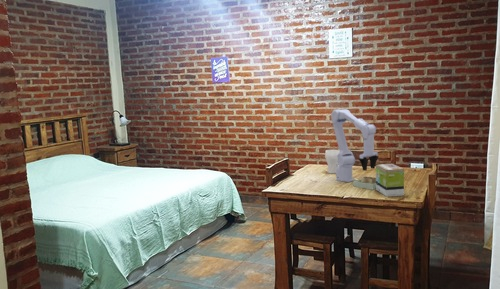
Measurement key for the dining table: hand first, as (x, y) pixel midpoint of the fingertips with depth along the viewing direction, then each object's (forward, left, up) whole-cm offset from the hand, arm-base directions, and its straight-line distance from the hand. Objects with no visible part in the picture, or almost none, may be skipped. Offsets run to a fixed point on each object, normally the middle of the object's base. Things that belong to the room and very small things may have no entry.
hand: (368, 169), depth 248 cm
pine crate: (0, -1, -9) cm, 9 cm away
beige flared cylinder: (-41, +17, -10) cm, 45 cm away
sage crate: (0, -1, -10) cm, 10 cm away
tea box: (+18, -6, -10) cm, 21 cm away
